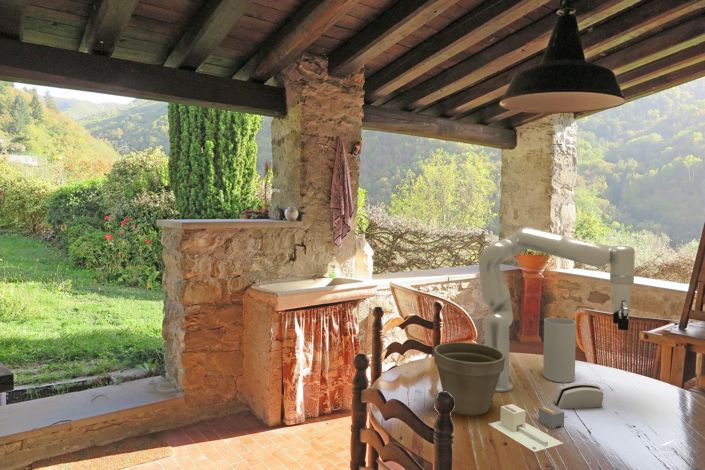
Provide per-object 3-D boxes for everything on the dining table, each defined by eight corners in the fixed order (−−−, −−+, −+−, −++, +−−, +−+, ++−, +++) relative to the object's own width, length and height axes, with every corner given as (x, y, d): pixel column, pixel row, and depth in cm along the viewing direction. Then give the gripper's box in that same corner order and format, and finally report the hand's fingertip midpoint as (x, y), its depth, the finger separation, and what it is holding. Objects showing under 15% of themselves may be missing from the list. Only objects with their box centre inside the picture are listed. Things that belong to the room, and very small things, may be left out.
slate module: (538, 425, 157) (538, 407, 157) (549, 422, 159) (549, 404, 159) (552, 433, 152) (553, 414, 152) (563, 430, 154) (564, 411, 154)
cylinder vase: (537, 377, 202) (538, 320, 201) (551, 371, 210) (552, 316, 209) (566, 385, 193) (567, 326, 191) (579, 378, 201) (581, 321, 199)
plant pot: (516, 409, 170) (517, 350, 169) (482, 432, 152) (482, 367, 151) (456, 391, 187) (457, 337, 186) (419, 409, 170) (420, 350, 169)
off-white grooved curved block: (594, 401, 177) (600, 380, 173) (601, 410, 173) (608, 388, 169) (552, 402, 176) (557, 381, 172) (558, 411, 171) (563, 390, 168)
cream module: (500, 424, 155) (500, 405, 155) (511, 421, 158) (512, 403, 157) (513, 431, 150) (513, 412, 150) (525, 428, 152) (525, 410, 152)
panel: (488, 427, 156) (488, 420, 156) (515, 420, 161) (515, 413, 161) (534, 455, 138) (534, 447, 138) (563, 447, 143) (563, 439, 143)
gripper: (606, 276, 179) (605, 320, 180) (614, 282, 163) (613, 331, 163) (628, 277, 176) (627, 322, 177) (639, 284, 160) (637, 333, 161)
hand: (620, 326), depth 170 cm, fingers open, 9 cm apart
